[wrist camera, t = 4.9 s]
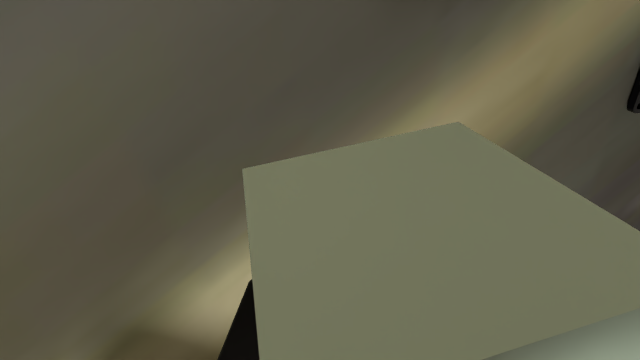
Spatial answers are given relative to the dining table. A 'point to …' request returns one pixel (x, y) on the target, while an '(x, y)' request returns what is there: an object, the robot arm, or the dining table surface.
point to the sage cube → (435, 257)
